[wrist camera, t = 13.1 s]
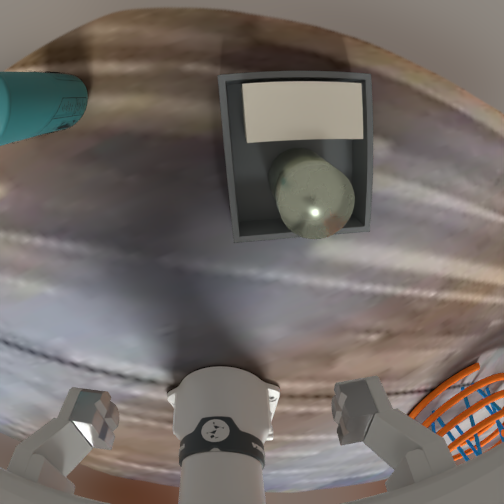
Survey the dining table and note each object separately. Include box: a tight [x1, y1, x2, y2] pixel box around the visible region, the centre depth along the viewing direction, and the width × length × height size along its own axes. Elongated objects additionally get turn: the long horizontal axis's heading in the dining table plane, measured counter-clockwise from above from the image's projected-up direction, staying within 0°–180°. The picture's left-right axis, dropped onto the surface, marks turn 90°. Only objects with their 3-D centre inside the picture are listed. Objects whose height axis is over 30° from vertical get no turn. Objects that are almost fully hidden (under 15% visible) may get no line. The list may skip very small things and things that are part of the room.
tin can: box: [268, 148, 355, 239], centre depth 29 cm, size 6×6×8 cm
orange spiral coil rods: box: [409, 363, 504, 461], centre depth 48 cm, size 34×35×24 cm
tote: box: [218, 71, 373, 243], centre depth 30 cm, size 16×14×5 cm
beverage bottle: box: [0, 70, 88, 146], centre depth 19 cm, size 6×7×20 cm
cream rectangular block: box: [241, 81, 363, 143], centre depth 26 cm, size 5×10×6 cm, turn 94°
